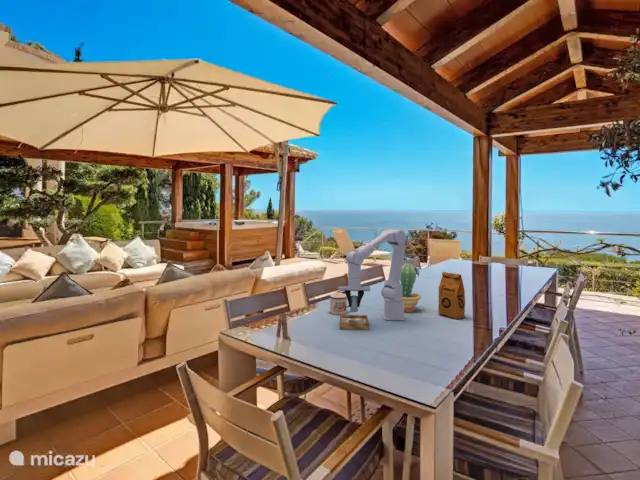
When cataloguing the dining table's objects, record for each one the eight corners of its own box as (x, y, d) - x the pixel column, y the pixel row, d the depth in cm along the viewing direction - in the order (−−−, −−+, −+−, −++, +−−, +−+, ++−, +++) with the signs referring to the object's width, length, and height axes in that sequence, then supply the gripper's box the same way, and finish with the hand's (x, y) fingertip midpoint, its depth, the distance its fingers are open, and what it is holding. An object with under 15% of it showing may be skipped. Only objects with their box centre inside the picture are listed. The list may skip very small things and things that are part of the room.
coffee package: (454, 320, 179) (456, 275, 178) (435, 314, 190) (436, 272, 188) (468, 317, 184) (469, 274, 183) (448, 311, 195) (449, 270, 193)
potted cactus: (420, 314, 190) (421, 266, 188) (390, 312, 194) (390, 265, 192) (420, 307, 205) (421, 262, 203) (392, 305, 209) (393, 261, 207)
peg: (357, 310, 173) (357, 295, 172) (357, 312, 169) (358, 296, 169) (350, 310, 173) (350, 295, 173) (350, 311, 170) (350, 296, 169)
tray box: (367, 321, 178) (367, 315, 177) (369, 329, 165) (369, 323, 164) (339, 320, 178) (340, 314, 178) (339, 329, 165) (339, 322, 165)
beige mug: (332, 315, 187) (333, 293, 186) (327, 311, 196) (327, 289, 195) (354, 313, 191) (355, 291, 190) (348, 309, 199) (348, 288, 198)
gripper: (369, 276, 174) (368, 304, 175) (338, 276, 174) (338, 304, 175) (371, 278, 167) (370, 308, 168) (339, 278, 167) (338, 308, 168)
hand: (354, 306), depth 171 cm, fingers closed on peg, 3 cm apart
